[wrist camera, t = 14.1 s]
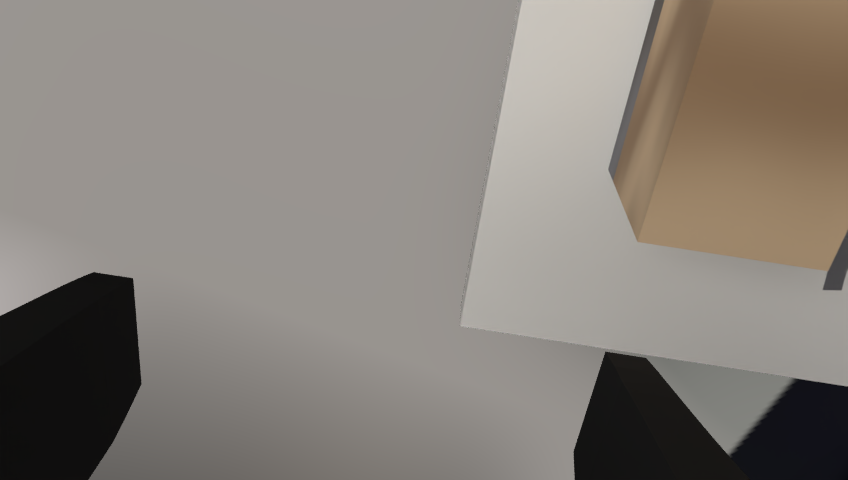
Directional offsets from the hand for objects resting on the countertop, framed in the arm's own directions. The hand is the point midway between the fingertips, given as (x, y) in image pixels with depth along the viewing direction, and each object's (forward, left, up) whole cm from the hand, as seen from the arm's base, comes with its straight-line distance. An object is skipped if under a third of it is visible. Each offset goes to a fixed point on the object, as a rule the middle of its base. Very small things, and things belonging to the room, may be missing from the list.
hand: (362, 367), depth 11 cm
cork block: (+4, -7, -9) cm, 12 cm away
